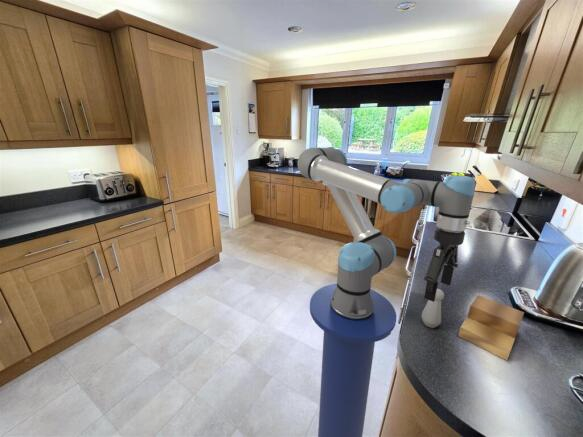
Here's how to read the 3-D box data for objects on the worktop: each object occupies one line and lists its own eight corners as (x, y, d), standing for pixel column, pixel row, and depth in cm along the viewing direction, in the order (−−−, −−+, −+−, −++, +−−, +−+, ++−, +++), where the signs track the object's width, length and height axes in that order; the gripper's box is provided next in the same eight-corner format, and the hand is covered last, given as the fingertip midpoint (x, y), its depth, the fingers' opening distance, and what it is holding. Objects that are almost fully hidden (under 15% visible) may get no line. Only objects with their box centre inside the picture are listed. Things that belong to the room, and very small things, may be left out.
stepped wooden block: (458, 335, 77) (463, 314, 74) (472, 314, 87) (477, 294, 84) (507, 360, 68) (515, 337, 66) (517, 333, 78) (524, 312, 76)
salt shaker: (439, 332, 78) (447, 297, 74) (419, 325, 81) (426, 292, 77) (440, 321, 83) (447, 288, 79) (421, 315, 86) (427, 283, 82)
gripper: (449, 243, 61) (435, 313, 67) (477, 223, 77) (463, 282, 83) (419, 235, 67) (408, 301, 73) (450, 218, 82) (439, 273, 88)
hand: (437, 291), depth 78 cm, fingers open, 13 cm apart
